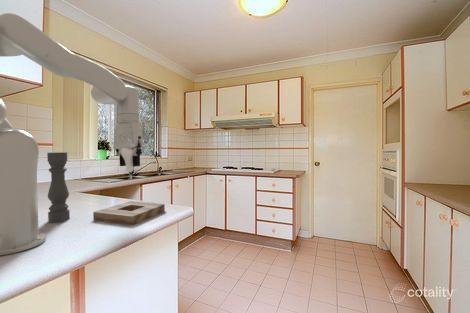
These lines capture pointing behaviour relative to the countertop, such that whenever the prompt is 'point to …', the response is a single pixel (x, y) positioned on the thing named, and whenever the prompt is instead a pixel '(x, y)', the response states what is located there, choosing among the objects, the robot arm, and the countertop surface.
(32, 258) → the countertop surface
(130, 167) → the lightbulb
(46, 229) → the countertop surface
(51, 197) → the candle holder
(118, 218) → the socket block
